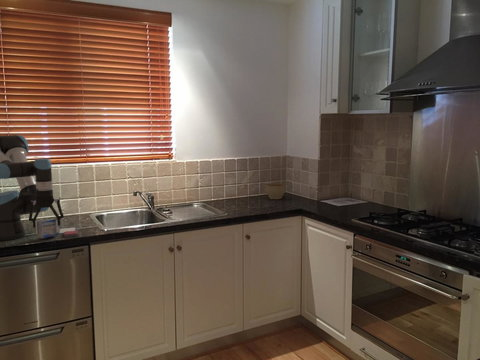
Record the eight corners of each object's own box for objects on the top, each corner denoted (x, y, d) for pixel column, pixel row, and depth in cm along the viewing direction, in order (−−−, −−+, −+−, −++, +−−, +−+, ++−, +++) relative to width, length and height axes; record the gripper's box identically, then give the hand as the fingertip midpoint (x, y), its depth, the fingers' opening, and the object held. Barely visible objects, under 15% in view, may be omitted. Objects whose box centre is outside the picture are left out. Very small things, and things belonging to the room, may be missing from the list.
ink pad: (63, 237, 214) (63, 234, 214) (64, 234, 220) (64, 231, 220) (78, 236, 216) (78, 233, 216) (78, 232, 223) (78, 230, 223)
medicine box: (42, 238, 209) (41, 222, 208) (37, 237, 212) (36, 220, 211) (57, 235, 216) (56, 219, 214) (52, 233, 218) (51, 217, 217)
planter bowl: (286, 196, 325) (286, 183, 323) (285, 200, 309) (285, 186, 307) (265, 196, 327) (265, 182, 325) (264, 200, 311) (264, 185, 310)
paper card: (57, 234, 220) (57, 233, 220) (58, 228, 232) (58, 227, 232) (77, 232, 223) (76, 231, 223) (77, 227, 235) (77, 226, 235)
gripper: (19, 191, 203) (23, 236, 206) (67, 189, 210) (69, 232, 214) (21, 189, 210) (24, 232, 213) (67, 187, 217) (70, 228, 221)
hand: (47, 232), depth 214 cm, fingers closed on medicine box, 9 cm apart
